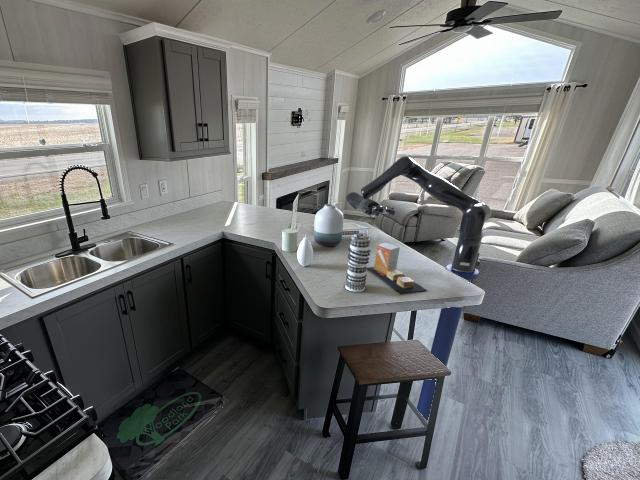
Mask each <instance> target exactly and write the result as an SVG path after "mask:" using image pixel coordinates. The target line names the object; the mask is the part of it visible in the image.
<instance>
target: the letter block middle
mask: <svg viewBox="0 0 640 480" xmlns="http://www.w3.org/2000/svg"><path fill="white" fill-rule="evenodd" d="M403 275H404V272H402V271H400V270H398V269H396V270H389V271H387V277H388V278H390V279H391V280H392V281H395V280H397V279H398V278H399V277H403Z"/></svg>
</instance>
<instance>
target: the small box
mask: <svg viewBox="0 0 640 480" xmlns="http://www.w3.org/2000/svg"><path fill="white" fill-rule="evenodd" d="M400 249H401V247H400V246H397V245H394V244H391V243H388V242H383V243H380V244H377V247H376V253H375V259H374V264H373V265H374V266H373V267H374V269H375V270H378V271H380V272H382V273H384V274H386V275H387V271H389V270H397V267H398V261H399V254H400Z"/></svg>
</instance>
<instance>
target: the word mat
mask: <svg viewBox="0 0 640 480" xmlns="http://www.w3.org/2000/svg"><path fill="white" fill-rule="evenodd" d="M366 270H368V271H369V272H371V273H372V274H374V275H375V276H376V277H377V278H379V279H380V280H381V281H383V282H384V283H386V284H387V285H388V286H390V287H391V288H392V289H393V290H394V291H396V292H398V293H399V294H400V295H403V294H412V293H420V292H421V293H422V292H427V290H426V289H425V288H424V287H422V286H421V285H420V284H418V283H416V282H415V283H414V287H411V288H402V287H401V286H399V285H398V284H397V280H395V281H392V280H391V279H390V278H388V277H387V275H386V274H384V273H382V272H380V271H378V270H375V269H374V266H371V267H366ZM403 277H407V276H405V275H404V274H403Z"/></svg>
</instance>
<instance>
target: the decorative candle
mask: <svg viewBox="0 0 640 480" xmlns="http://www.w3.org/2000/svg"><path fill="white" fill-rule="evenodd" d="M350 240H351V241H350V244H349V246H348V248H347V249H348V252H347V264H348V268H347V272H346V275H345V289H346V290H348V291H350V292H354V293H361V292H364V291H365V289H366V283H367V281H366V280H367V275H368V274H367V268H368V265H369V262H370V261H369V260H370V256H371V251H372V250H371V249H370V244H371V240H372V238H371V237H370V236H369V234H367V233H365V232H357V233H354V234H353V235H352V236H350Z"/></svg>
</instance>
